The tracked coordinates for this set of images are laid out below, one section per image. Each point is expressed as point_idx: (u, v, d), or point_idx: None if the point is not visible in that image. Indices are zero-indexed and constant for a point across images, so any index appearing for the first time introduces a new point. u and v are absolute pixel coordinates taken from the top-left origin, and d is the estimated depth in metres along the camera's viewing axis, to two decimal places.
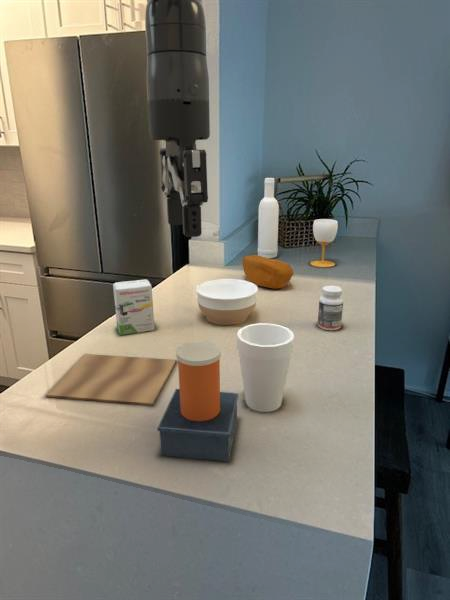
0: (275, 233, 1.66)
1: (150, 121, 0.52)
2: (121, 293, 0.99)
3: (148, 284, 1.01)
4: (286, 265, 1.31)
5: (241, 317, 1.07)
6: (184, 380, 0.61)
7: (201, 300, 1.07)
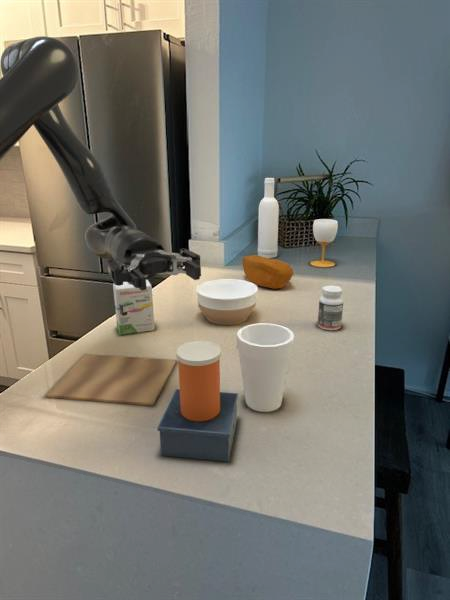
0: (275, 233, 1.66)
1: (141, 235, 0.73)
2: (121, 293, 0.99)
3: (148, 284, 1.01)
4: (286, 265, 1.31)
5: (241, 317, 1.07)
6: (184, 380, 0.61)
7: (201, 300, 1.07)
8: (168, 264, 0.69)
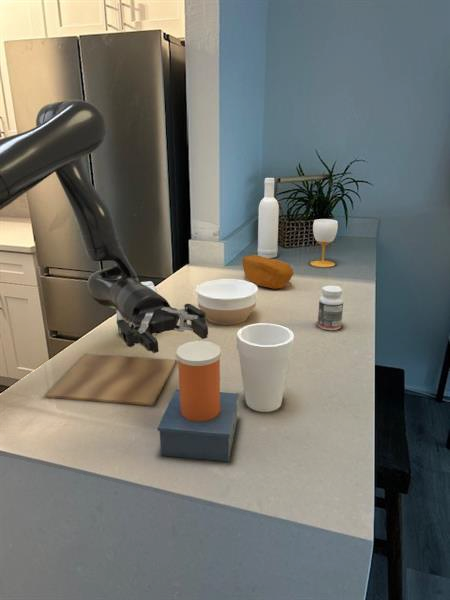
0: (275, 233, 1.66)
1: (147, 292, 0.77)
2: None
3: None
4: (286, 265, 1.31)
5: (241, 317, 1.07)
6: (184, 380, 0.61)
7: (201, 300, 1.07)
8: (175, 322, 0.73)
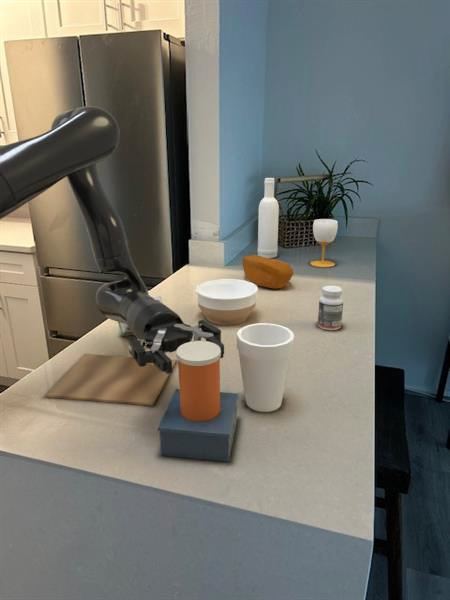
0: (275, 233, 1.66)
1: (159, 307, 0.73)
2: None
3: None
4: (286, 265, 1.31)
5: (241, 317, 1.07)
6: (184, 380, 0.61)
7: (201, 300, 1.07)
8: (189, 339, 0.69)
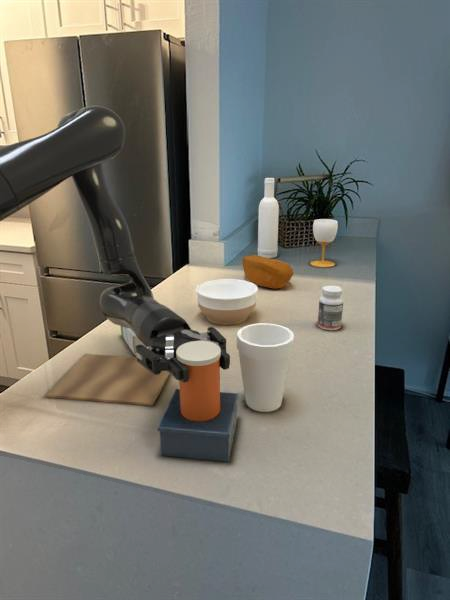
0: (275, 233, 1.66)
1: (166, 313, 0.71)
2: None
3: None
4: (286, 265, 1.31)
5: (241, 317, 1.07)
6: None
7: (201, 300, 1.07)
8: None
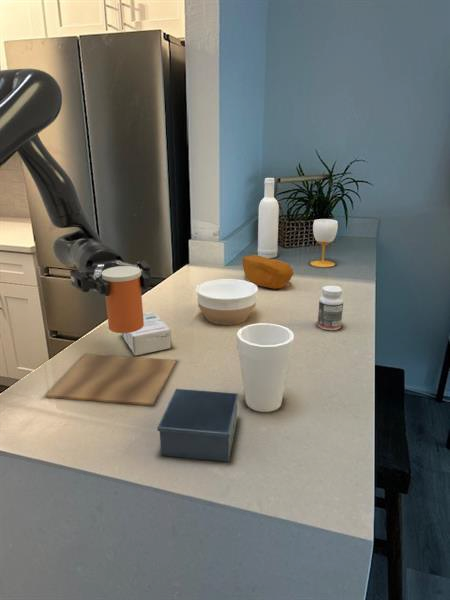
0: (275, 233, 1.66)
1: (102, 247, 0.81)
2: None
3: (168, 345, 0.95)
4: (286, 265, 1.31)
5: (241, 317, 1.07)
6: (107, 296, 0.71)
7: (201, 300, 1.07)
8: None
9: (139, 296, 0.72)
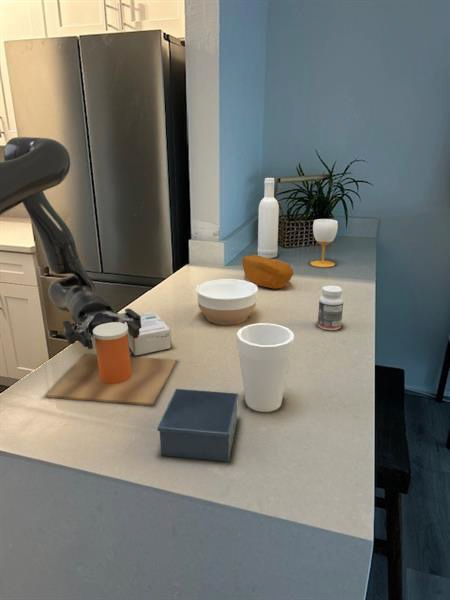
0: (275, 233, 1.66)
1: (93, 298, 0.89)
2: None
3: (168, 345, 0.95)
4: (286, 265, 1.31)
5: (241, 317, 1.07)
6: (98, 352, 0.79)
7: (201, 300, 1.07)
8: None
9: (127, 350, 0.81)
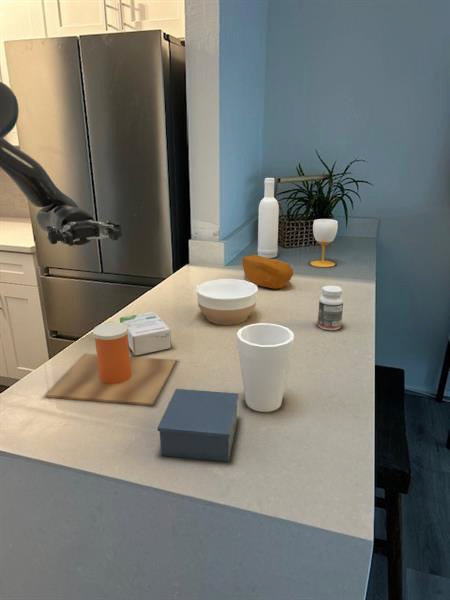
0: (275, 233, 1.66)
1: (76, 209, 0.92)
2: None
3: (168, 345, 0.95)
4: (286, 265, 1.31)
5: (241, 317, 1.07)
6: (98, 352, 0.79)
7: (201, 300, 1.07)
8: (95, 230, 0.88)
9: (127, 350, 0.81)
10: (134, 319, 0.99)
